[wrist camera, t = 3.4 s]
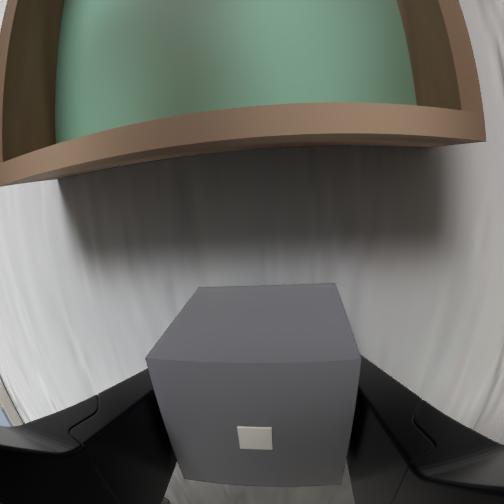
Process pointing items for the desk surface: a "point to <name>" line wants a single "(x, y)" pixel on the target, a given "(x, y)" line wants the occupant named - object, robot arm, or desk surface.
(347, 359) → the die
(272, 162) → the desk surface
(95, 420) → the robot arm
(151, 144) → the dice tray
